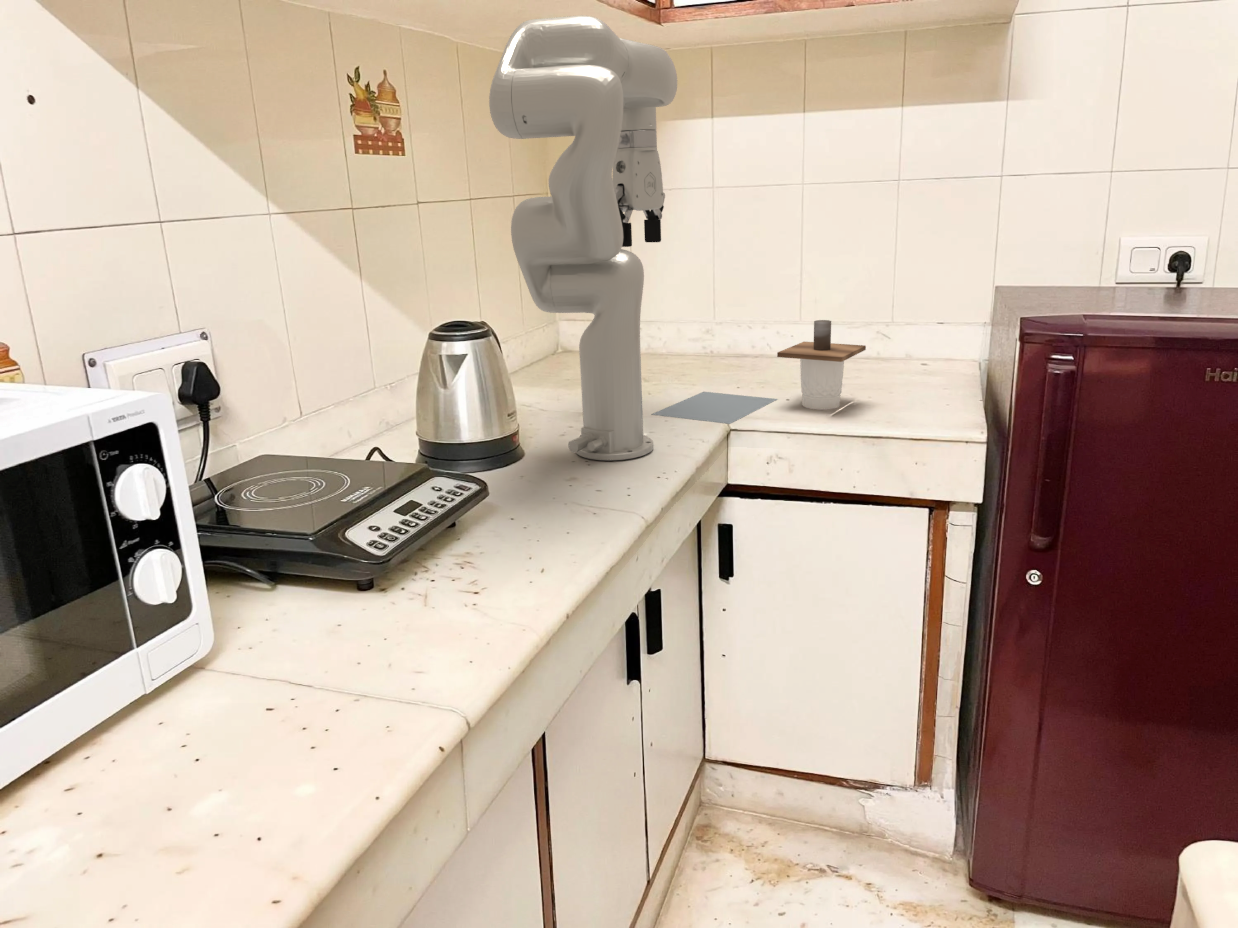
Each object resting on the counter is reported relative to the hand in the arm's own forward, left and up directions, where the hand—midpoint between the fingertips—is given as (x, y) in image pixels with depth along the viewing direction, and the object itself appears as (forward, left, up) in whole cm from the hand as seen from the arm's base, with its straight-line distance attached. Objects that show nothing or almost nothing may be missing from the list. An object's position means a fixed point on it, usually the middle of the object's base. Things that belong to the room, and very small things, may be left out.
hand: (638, 244), depth 163 cm
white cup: (+15, -29, -31) cm, 45 cm away
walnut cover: (+15, -29, -20) cm, 38 cm away
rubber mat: (+6, -12, -30) cm, 33 cm away
